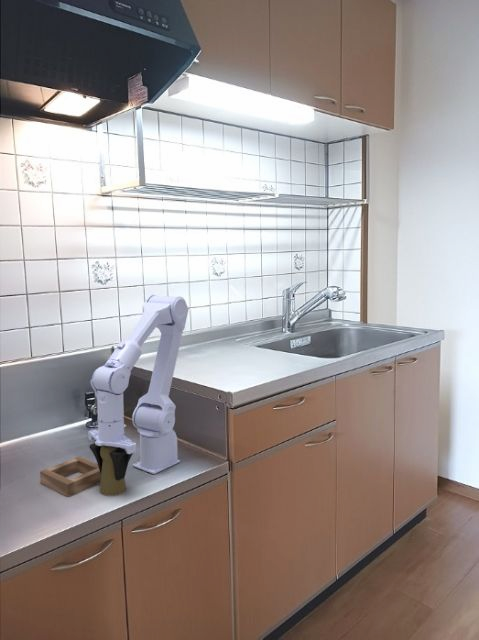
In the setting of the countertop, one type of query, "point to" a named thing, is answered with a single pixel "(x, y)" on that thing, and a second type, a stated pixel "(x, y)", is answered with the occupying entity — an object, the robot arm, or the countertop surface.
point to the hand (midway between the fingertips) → (112, 475)
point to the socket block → (57, 474)
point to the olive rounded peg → (109, 474)
